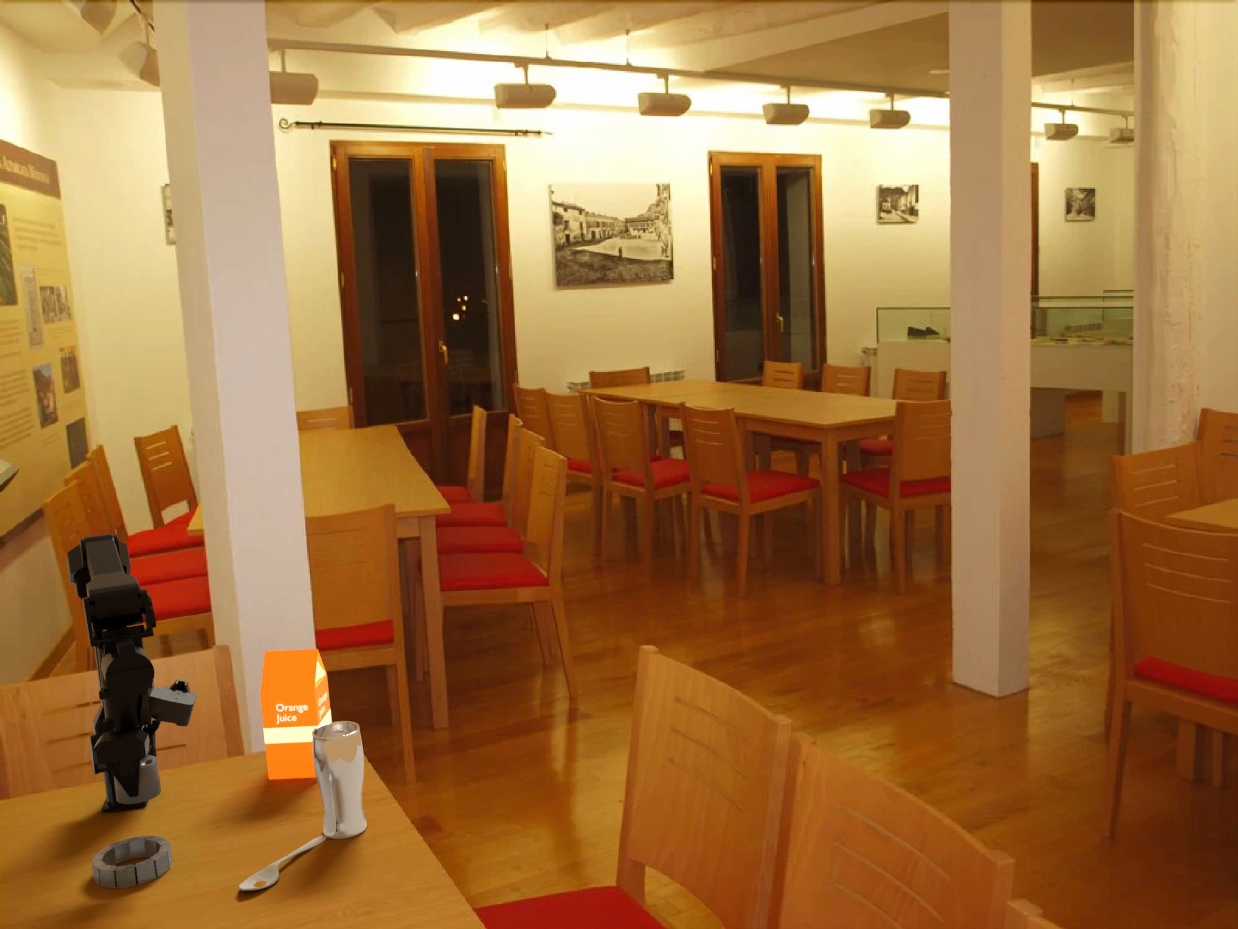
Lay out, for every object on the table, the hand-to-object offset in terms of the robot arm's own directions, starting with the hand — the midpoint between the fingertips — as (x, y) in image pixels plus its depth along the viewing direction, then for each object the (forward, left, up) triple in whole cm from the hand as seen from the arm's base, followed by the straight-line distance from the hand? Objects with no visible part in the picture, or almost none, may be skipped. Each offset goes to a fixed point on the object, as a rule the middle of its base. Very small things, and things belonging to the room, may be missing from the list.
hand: (137, 787), depth 156 cm
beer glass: (-2, +26, -11) cm, 29 cm away
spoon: (+5, +19, -12) cm, 23 cm away
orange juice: (-27, +19, -11) cm, 35 cm away
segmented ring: (+1, -2, -11) cm, 11 cm away
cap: (0, 0, -1) cm, 1 cm away
